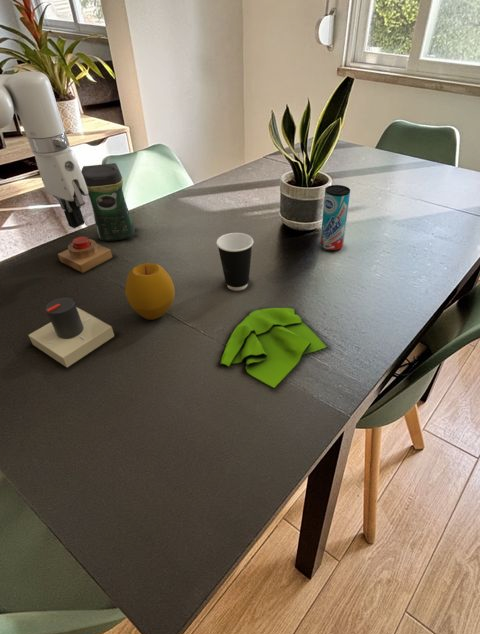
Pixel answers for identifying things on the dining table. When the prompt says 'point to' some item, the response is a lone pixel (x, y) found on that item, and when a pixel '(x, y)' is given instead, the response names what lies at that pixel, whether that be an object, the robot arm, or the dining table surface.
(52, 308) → the knob
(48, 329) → the panel
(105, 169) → the coffee jar
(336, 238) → the beverage can
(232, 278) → the dixie cup
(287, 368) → the cloth
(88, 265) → the button block
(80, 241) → the button
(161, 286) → the apple
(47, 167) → the robot arm
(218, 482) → the dining table surface
